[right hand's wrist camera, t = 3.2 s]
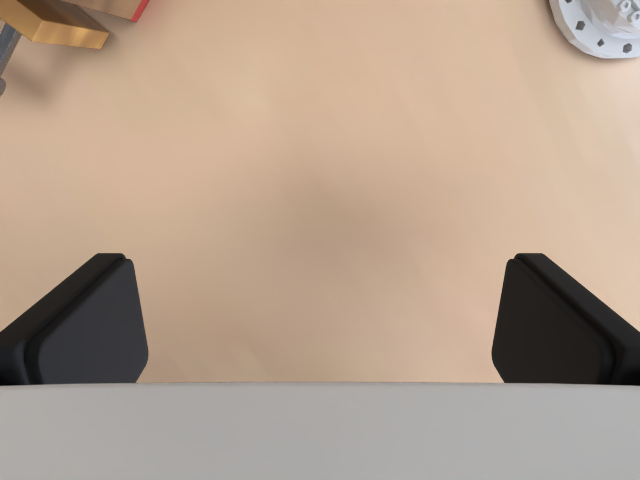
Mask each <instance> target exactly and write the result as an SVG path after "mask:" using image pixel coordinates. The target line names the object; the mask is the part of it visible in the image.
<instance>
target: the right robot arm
mask: <svg viewBox="0 0 640 480" xmlns="http://www.w3.org/2000/svg"><path fill="white" fill-rule="evenodd" d="M147 360H148V346H147V340H146V334H145V328H144V323H143V317H142V311H141V305H140V299H139V293H138V288H137V282H136V276H135V270H134V265H133V262H132V260H130V259H126V257H125V256H124V255H123V254H121V253H98V254H96V255H95V256H93V257H92V258H91V259H90V260H88V261H87V262H86V263H85V264H84V265H82V266H81V267H80V268H79V269H77V270H76V271H75V272H74V273H72V274H71V275H70V276H69V277H68V278H66V279H65V280H64V281H63V282H61V283H60V284H59V285H58V286H56V287H55V288H54V289H53V290H52V291H50V292H49V293H48V294H47V295H45V296H44V297H43V298H42V299H40V300H39V301H38V302H37V303H36V304H34V305H33V306H32V307H31V308H29V309H28V310H27V311H26V312H24V313H23V314H22V315H21V316H20V317H18V318H17V319H16V320H15V321H13V322H12V323H11V324H10V325H8V326H7V327H6V328H5V329H4V330H2V331H1V332H0V480H640V332H639V331H638V330H636V329H635V328H634V327H633V326H632V325H630V324H629V323H628V322H627V321H625V320H624V319H623V318H622V317H620V316H619V315H618V314H617V313H616V312H614V311H613V310H612V309H611V308H609V307H608V306H607V305H606V304H604V303H603V302H602V301H601V300H600V299H598V298H597V297H596V296H595V295H593V294H592V293H591V292H590V291H588V290H587V289H586V288H585V287H584V286H582V285H581V284H580V283H579V282H577V281H576V280H575V279H574V278H572V277H571V276H570V275H569V274H568V273H566V272H565V271H564V270H563V269H561V268H560V267H559V266H558V265H556V264H555V263H554V262H553V261H552V260H550V259H549V258H548V257H547V256H545V255H544V254H542V253H519V254H517V255H516V256H515V257H514V259H510V260H508V262H507V265H506V270H505V276H504V282H503V288H502V293H501V299H500V305H499V311H498V317H497V323H496V328H495V334H494V340H493V346H492V360H493V364H494V366H495V368H496V369H497V371H498V373H499V374H500V376H501V378H502V379H503V381H504V383H436V382H193V383H136V381H137V379H138V378H139V376H140V374H141V373H142V371H143V369H144V368H145V366H146V364H147Z"/></svg>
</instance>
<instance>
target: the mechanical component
mask: <svg viewBox="0 0 640 480" xmlns="http://www.w3.org/2000/svg"><path fill="white" fill-rule="evenodd" d="M549 2H550V6H551V9H552V13H553V16H554V20H555V23H556V24H557V26H558V27H559V29H560V30H561V31H562V33H563V34H564V36H565V37H566V39H567V40H568V41H569V42H570V43H571V44H573V45H574V46H576V47H577V48H578V49H580V50H581V51H583V52H584V53H587V54H590V55H593V56H596V57H599V58H634V57H638V56H640V0H549Z"/></svg>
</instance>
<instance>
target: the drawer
mask: <svg viewBox="0 0 640 480" xmlns="http://www.w3.org/2000/svg"><path fill="white" fill-rule="evenodd" d="M0 18H1V19H2V20H4V21H5V22H6V24H5V26H4V28H3V30H2V32H1V34H0V76H1V75H2V73H3V71H4V69H5V67H6V65H7V63H8V61H9V59H10V57H11V55H12V53H13V51H14V49H15V47H16V45H17V43H18V41H19V39H20V37H21V35H24V36H25V37H27V38H28V39H29V40H31V41H32V42H39V43H48V44H58V45H67V46H76V47H85V48H94V49H101V48H102V46H103V44H104V42H105V40H106V39H107V37H108V35H109V32H108V31H106V30H105V29H104V28H102V27H101V26H100V25H99V24H97V23H96V22H95V21H94V20H92V19H91V18H90V17H88V16H87V15H86V14H85V13H83V12H82V11H81V10H79V9H78V8H77V7H76V6H74V5H73V4H72V3H69V2H65V1H62V0H0ZM5 87H6V82H5V81H4V80H3V79H2V78H1V77H0V96H1V95H2V94H3V92H4V90H5Z"/></svg>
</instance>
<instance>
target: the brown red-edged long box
mask: <svg viewBox="0 0 640 480" xmlns="http://www.w3.org/2000/svg"><path fill="white" fill-rule="evenodd" d="M62 1H65V2H69V3H72V4H76V5H79V6H83V7H86V8H90V9H93V10H97V11H101V12H104V13H108V14H111V15H115V16H118V17H122V18H125V19H129V20H131V21H134V22H137V20H138V19H139V17H140V15H141V14H142V12H143V10H144V8H145V7H146V5H147V3H148V2H149V0H62Z"/></svg>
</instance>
